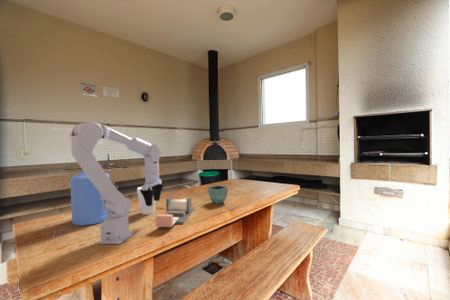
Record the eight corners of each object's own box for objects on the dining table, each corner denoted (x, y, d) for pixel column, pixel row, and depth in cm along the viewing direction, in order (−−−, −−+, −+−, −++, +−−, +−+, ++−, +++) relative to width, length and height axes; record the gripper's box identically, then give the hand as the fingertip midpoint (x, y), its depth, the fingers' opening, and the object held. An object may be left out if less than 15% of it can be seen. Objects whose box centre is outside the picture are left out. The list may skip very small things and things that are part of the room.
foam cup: (150, 216, 101) (150, 189, 100) (134, 215, 103) (133, 189, 102) (160, 210, 110) (160, 185, 110) (145, 209, 112) (144, 185, 111)
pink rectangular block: (171, 227, 84) (170, 216, 84) (156, 226, 84) (156, 216, 84) (179, 218, 94) (178, 208, 93) (166, 218, 94) (165, 208, 94)
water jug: (117, 217, 100) (115, 159, 99) (80, 229, 87) (77, 162, 86) (101, 212, 108) (99, 159, 107) (65, 222, 95) (63, 161, 94)
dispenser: (183, 223, 90) (182, 205, 90) (156, 223, 91) (156, 205, 91) (194, 209, 110) (194, 194, 110) (172, 209, 111) (172, 194, 111)
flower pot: (219, 199, 128) (219, 185, 128) (228, 202, 121) (228, 187, 121) (207, 202, 123) (207, 187, 122) (216, 205, 116) (215, 189, 115)
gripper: (153, 174, 82) (154, 208, 82) (167, 169, 96) (168, 198, 97) (136, 174, 83) (137, 208, 83) (152, 169, 97) (153, 198, 98)
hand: (153, 203), depth 90 cm, fingers open, 7 cm apart
